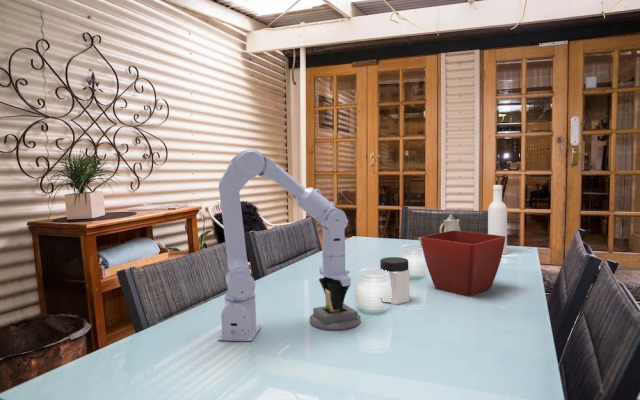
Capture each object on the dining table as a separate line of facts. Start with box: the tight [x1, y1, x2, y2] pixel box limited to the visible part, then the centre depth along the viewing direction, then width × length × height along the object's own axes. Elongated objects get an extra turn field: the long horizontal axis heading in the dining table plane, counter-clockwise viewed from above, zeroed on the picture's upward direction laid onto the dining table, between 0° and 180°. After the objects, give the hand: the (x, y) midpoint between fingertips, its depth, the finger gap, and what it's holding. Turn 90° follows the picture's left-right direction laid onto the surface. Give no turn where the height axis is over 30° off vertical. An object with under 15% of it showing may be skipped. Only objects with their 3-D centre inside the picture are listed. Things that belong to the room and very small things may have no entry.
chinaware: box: [417, 214, 461, 246], centre depth 210 cm, size 28×17×17 cm, turn 130°
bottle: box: [487, 184, 508, 256], centre depth 193 cm, size 8×8×30 cm
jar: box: [379, 256, 410, 305], centre depth 130 cm, size 9×8×12 cm
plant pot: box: [420, 230, 505, 297], centre depth 140 cm, size 19×19×17 cm
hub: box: [309, 303, 361, 332], centre depth 113 cm, size 13×13×3 cm
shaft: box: [324, 288, 343, 314], centre depth 113 cm, size 4×3×7 cm
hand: (334, 307), depth 113 cm, fingers closed on shaft, 3 cm apart
